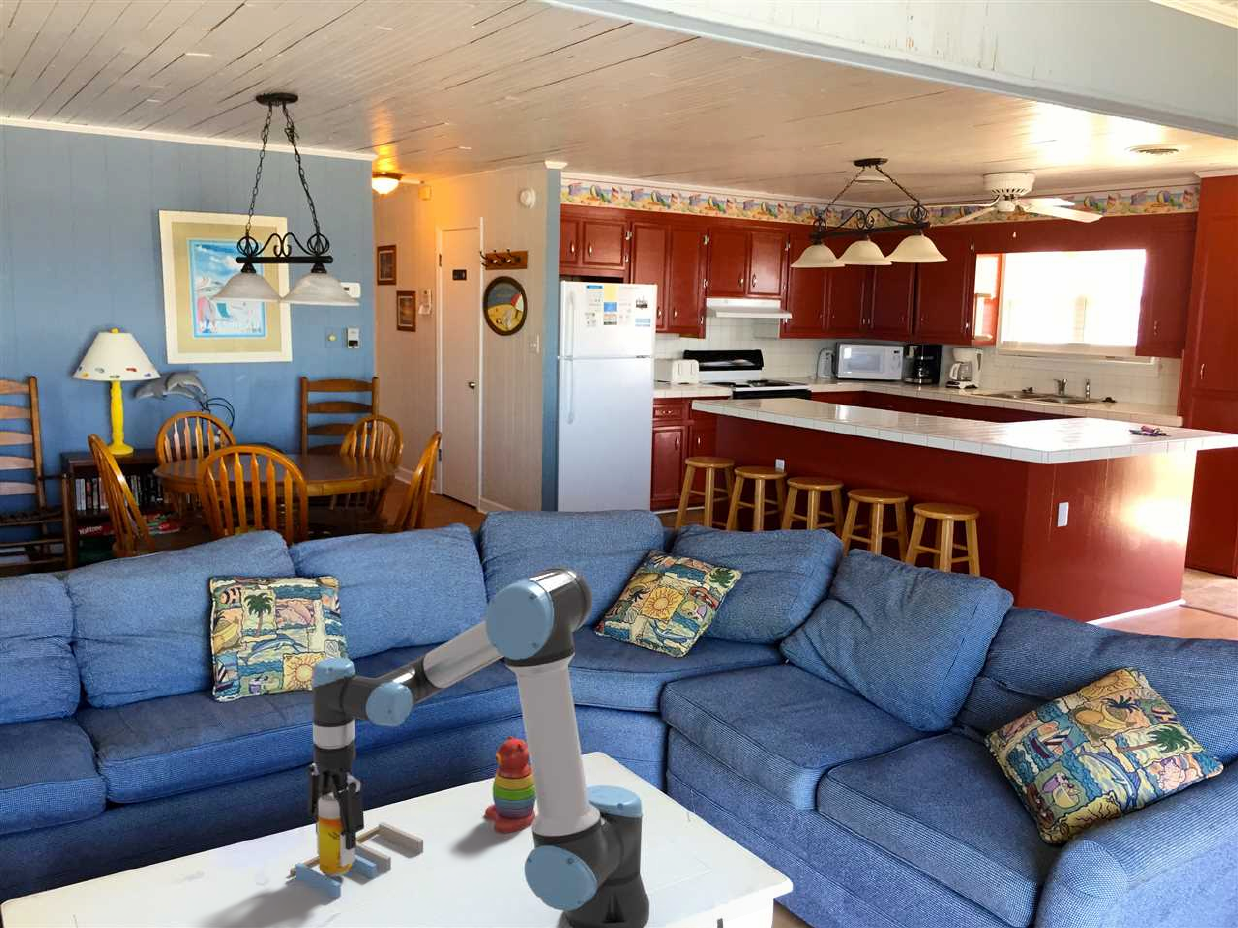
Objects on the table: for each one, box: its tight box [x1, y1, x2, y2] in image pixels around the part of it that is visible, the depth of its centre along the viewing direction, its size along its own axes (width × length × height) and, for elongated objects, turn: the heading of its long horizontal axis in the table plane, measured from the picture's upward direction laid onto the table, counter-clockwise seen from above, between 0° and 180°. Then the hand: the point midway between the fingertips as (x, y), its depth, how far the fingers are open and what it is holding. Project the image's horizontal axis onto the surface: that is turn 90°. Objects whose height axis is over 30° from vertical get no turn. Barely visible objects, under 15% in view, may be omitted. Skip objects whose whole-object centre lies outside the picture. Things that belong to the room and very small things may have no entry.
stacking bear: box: [484, 735, 536, 834], centre depth 215 cm, size 11×10×18 cm
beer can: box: [318, 789, 353, 877], centre depth 191 cm, size 6×6×15 cm
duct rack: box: [290, 821, 424, 900], centre depth 197 cm, size 14×22×2 cm, turn 144°
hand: (335, 857), depth 192 cm, fingers closed on beer can, 6 cm apart
